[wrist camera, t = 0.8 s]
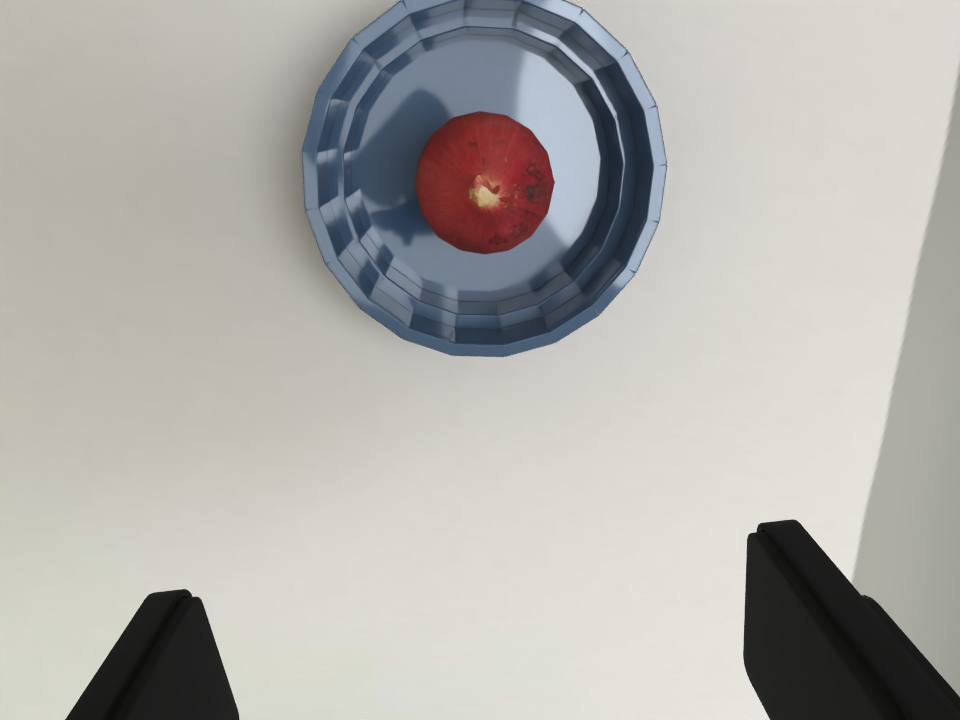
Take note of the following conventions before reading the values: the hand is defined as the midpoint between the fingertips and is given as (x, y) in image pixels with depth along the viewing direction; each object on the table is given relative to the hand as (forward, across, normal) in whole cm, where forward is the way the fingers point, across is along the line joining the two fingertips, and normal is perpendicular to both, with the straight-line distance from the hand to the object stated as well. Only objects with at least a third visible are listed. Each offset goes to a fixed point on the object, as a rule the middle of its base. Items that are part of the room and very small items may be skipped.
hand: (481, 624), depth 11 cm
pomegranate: (+23, -1, -6) cm, 24 cm away
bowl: (+24, -1, -6) cm, 24 cm away
